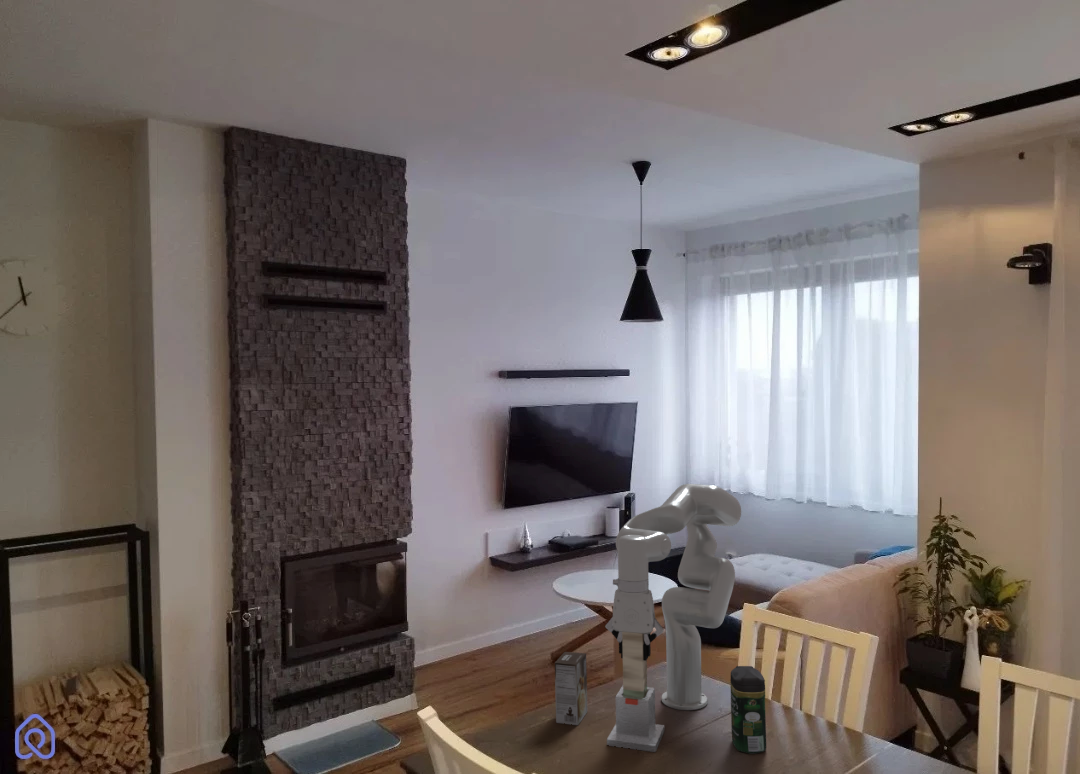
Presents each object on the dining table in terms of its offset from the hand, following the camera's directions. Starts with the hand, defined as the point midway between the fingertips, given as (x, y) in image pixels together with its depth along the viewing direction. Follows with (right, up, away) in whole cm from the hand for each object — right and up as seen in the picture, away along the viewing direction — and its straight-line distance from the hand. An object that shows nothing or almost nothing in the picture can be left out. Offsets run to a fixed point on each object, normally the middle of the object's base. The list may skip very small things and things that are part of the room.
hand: (634, 657), depth 195 cm
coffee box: (-15, -21, +13) cm, 29 cm away
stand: (0, -20, 0) cm, 20 cm away
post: (0, -12, 0) cm, 12 cm away
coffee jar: (+27, -20, -5) cm, 34 cm away
